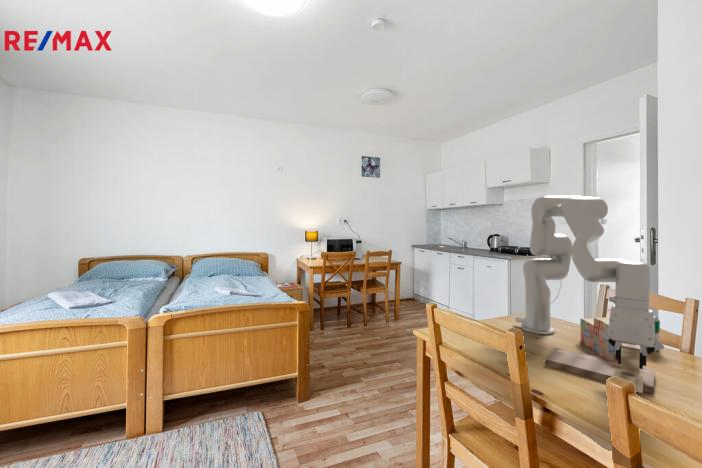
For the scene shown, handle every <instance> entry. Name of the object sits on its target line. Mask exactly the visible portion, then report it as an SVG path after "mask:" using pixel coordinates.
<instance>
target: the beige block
mask: <svg viewBox="0 0 702 468" xmlns="http://www.w3.org/2000/svg"><path fill="white" fill-rule="evenodd" d="M640 353H641V348H640V345H630V344H625V343H623V344H622V347H621V368H623V370H622V371H618V370H615V372H614V376H617V377H620V378H623V379H625V380H628V381H631V382H632V383H633V384H634V385H635V390H636V392H637V393H639V394H643V377H642V376H638V375H637V374H638V372H639V370H640V368H639V359H640ZM636 392H635V393H636Z"/></svg>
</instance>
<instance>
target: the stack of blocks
mask: <svg viewBox="0 0 702 468" xmlns="http://www.w3.org/2000/svg"><path fill="white" fill-rule="evenodd" d="M609 318H610V317H593V318H586V317H585V318H580V320H579V321H580V325H579V327H580V341H581V342H582V343H584V344H585V345H586V346H588V347H589V348H591V349H592V350H594V351H595V352H597V353H598V354H599V355H601V356H603V358H604V359H609V360H613V361H617V362H618V360H617V359H616V350H615V348H614V347H613V346H612V345H611V344H610V343H609V342H608V341H607V340H605V339H604V338H602V337H601V335H602V333H603V332H604V331H605V330H607V329H608V328H609ZM623 343H625V342H622V343H621V347H622V344H623ZM625 344H630V343H625ZM630 345H635V344H630Z"/></svg>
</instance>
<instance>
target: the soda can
mask: <svg viewBox="0 0 702 468" xmlns="http://www.w3.org/2000/svg"><path fill="white" fill-rule="evenodd" d="M654 324H655V335H656V336H657V338H658V339H659V340H660V336H661V335H660V333H661V329H660V328H661V320H660V319H659V317H657V316H654ZM660 341H661V340H660ZM654 345H656V344H655V343H654ZM654 345H653V346H654ZM647 348H648V347H647ZM658 351H659V350H657V351H656V352H658Z"/></svg>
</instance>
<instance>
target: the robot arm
mask: <svg viewBox="0 0 702 468" xmlns="http://www.w3.org/2000/svg"><path fill="white" fill-rule="evenodd" d="M530 209H531V210H530V211H531V220H532V221H531V222H532V227H531V234H530V241H529V242H530V243H529V251H530V253H531V254H532V255H534V256H536V258H535V257H534V258H529V259H527V260H526V261H524V263H523V265H522V270H523V271H522V272H523V277H524V282H525V283H524V287H525V298H524V299H525V302H524V303H525V311H524V313H525V314H524V317H521V316H520V317H519V316H515V317H514V318H515V322H516V323H521V326H520V327H521V329H522V330H523V331H525V332H528V333H530V334H531V333H532V334H536V335H552V334H554V333H555V328H554V327H552V326H551V301H552V300H551V290H550V287H549V285H548V284H547V282H546V281H560V280H564V279H566V278H567V276H568V275H569V271H570V266H571V259H572V263H573V264H574V266H575V268H576V270H577V272H578V273H579V274H580V276H581V277H582V278H583V279H584V280H586V281H587V282H590V283H615V287H614V288H615V292H614V293H615V294H614V295H615V296H612V297H611V296H608V297H609V298H608V302H611V303H613V305H612V306H611V309H610V312H609V317H608V318H609V328H608V329H607V330H605V331H604V332H603V333H602V335H601V337H602V338H604V339H605V340H607V341H608V342H609V343H610V344H611V345H612V346H613V347H614V348H615V350H616V359H617V360H618V364H621V343H622V342H625V343H630V344H635V345H636V346H640V348H641V349H640V359H639V368H640V369H643V367H647V357H648V355H650V354H652V353H654V352H658V351H661V350H663V349H665V345H664V343H662V341H661V340H659V339H658V338H657V336H656V335H655V324H654V317H655V316H654V313H653V310H652V309H650V290H651V289H650V286H651V285H650V280H651V279H650V278H651V275H650V274H651V267H650V265H649V264H647V263H645V262H641V261H631V260H628V259H625V258H619V257H618V258H615V257H612V258H610V257H609V258H608V257H606V258H605V257H603V258H602V257H596V258H594V257H593V255H592V253H591V252H590V250H589V248H588V244H590V243H592V242H594V241H597V240H598V239H600V238H601V237H602V236H603V235H604V233H605V228H604V226H603V225H602V224H601V221H600V220H603V219H604V218H606V217H607V215H608V211H609V206H608V204H607V202H606V201H605V200H604V199H602V198H601V197H597V196H584V195H544V196H540V197H538V198H536V199H535V200H534V201H533V203H532V205H531V208H530ZM554 217H555V218H564V220H565V221H566V223H567V226H568V227H569V229H570V231H571V233H572V234H573V236H574V237H575V240H574V241H573V242H572V240H571V238H570V237H569V236H568V235H566V234H563V233H556V227H557V226H556V222H555V220H554ZM545 257H546V258H545ZM548 257H549V258H548ZM551 257H552V258H551ZM654 343H655V344H656V345H654ZM653 345H654V346H653ZM647 347H648V348H647ZM657 350H658V351H657Z"/></svg>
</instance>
